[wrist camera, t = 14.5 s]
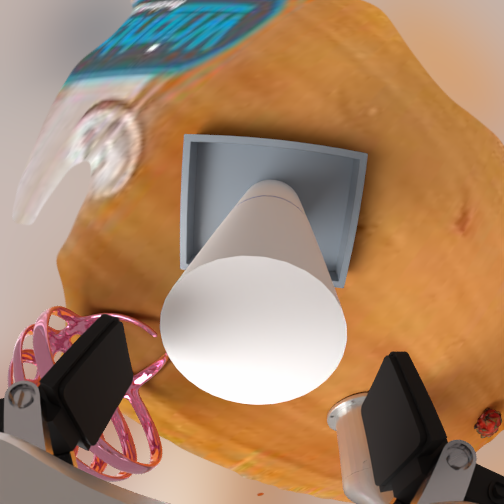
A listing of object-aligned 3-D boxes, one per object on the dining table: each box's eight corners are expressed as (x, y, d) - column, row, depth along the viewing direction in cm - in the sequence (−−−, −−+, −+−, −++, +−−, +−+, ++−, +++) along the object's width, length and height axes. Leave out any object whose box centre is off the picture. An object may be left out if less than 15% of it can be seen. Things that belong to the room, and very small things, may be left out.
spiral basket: (136, 348, 19) (-34, 447, 10) (245, 453, 34) (113, 516, 25) (104, 240, 41) (-7, 319, 32) (177, 350, 56) (82, 407, 47)
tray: (358, 153, 31) (367, 153, 27) (337, 274, 37) (343, 288, 33) (194, 135, 32) (184, 134, 28) (189, 257, 38) (180, 269, 34)
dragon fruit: (482, 418, 50) (475, 402, 50) (505, 414, 43) (501, 397, 43) (476, 443, 45) (469, 429, 45) (500, 439, 38) (496, 425, 38)
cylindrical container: (267, 167, 32) (236, 209, 8) (313, 207, 33) (383, 336, 10) (229, 211, 34) (132, 340, 11) (273, 249, 35) (260, 422, 12)
